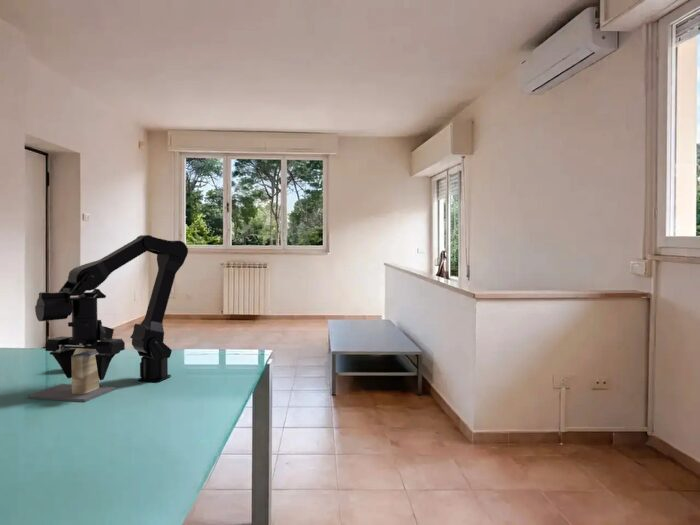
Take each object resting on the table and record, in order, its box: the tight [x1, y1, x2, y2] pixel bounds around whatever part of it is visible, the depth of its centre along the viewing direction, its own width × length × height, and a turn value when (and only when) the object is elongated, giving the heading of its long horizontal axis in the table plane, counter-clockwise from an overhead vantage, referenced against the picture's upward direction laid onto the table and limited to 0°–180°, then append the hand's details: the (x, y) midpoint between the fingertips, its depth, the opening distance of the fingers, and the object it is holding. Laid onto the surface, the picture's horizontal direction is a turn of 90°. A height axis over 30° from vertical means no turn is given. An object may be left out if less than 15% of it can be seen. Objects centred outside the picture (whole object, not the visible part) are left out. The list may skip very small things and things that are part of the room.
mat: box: [27, 383, 116, 403], centre depth 129 cm, size 16×11×1 cm
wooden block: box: [71, 351, 100, 394], centre depth 129 cm, size 3×6×9 cm, turn 168°
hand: (85, 379), depth 129 cm, fingers open, 9 cm apart
